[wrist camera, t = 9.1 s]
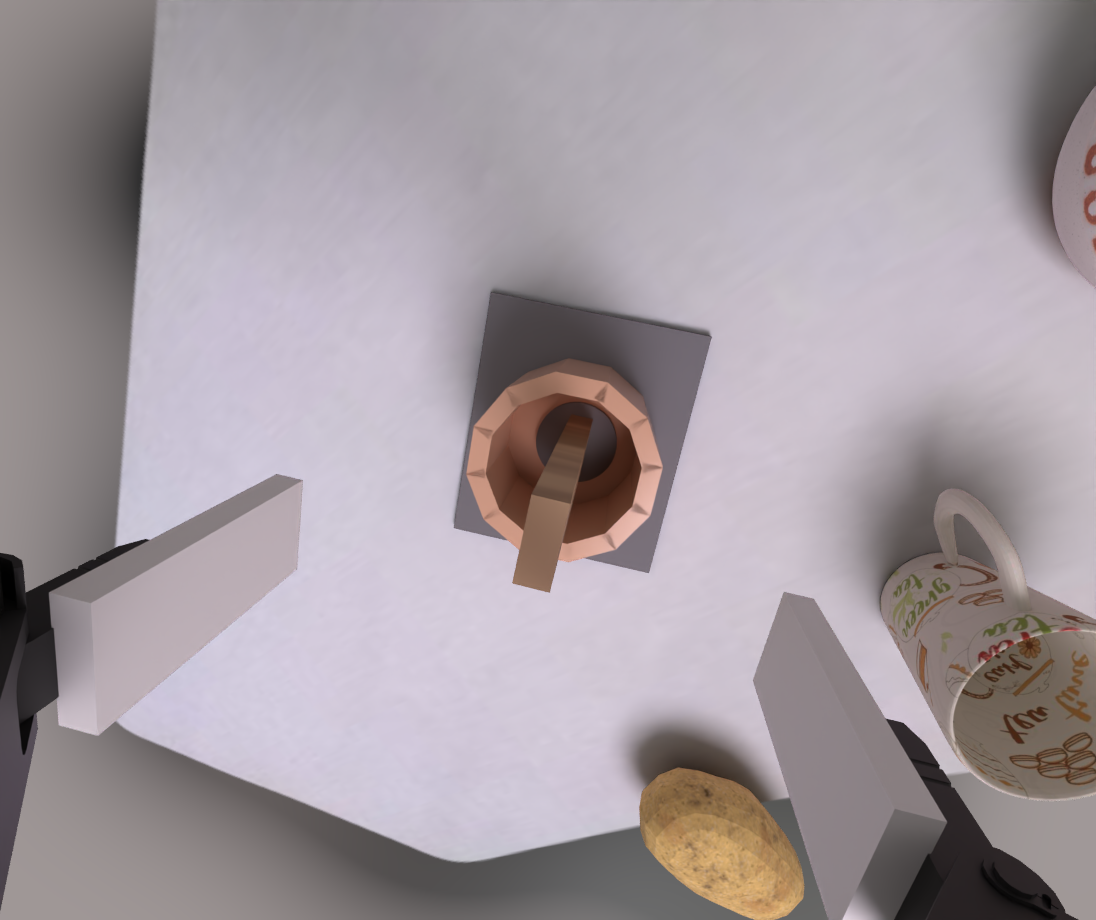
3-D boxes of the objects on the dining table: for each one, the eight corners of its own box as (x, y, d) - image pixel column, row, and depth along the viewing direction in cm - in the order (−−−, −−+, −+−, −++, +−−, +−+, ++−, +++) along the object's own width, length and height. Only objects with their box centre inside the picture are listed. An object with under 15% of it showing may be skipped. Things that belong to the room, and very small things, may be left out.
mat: (492, 292, 32) (491, 292, 32) (710, 336, 31) (711, 336, 31) (455, 525, 36) (453, 528, 36) (648, 570, 35) (648, 573, 35)
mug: (876, 677, 35) (970, 818, 26) (824, 487, 33) (908, 565, 23) (1028, 644, 34) (1190, 781, 24) (986, 441, 31) (1148, 504, 21)
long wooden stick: (546, 393, 32) (484, 460, 18) (625, 412, 32) (628, 494, 17) (530, 469, 33) (459, 590, 19) (606, 487, 33) (594, 624, 18)
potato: (690, 716, 37) (703, 795, 31) (812, 822, 38) (847, 919, 32) (617, 774, 39) (616, 859, 33) (735, 874, 40) (755, 975, 34)
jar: (511, 346, 32) (484, 356, 26) (669, 378, 32) (681, 397, 25) (485, 494, 35) (456, 536, 29) (632, 527, 34) (634, 577, 28)
